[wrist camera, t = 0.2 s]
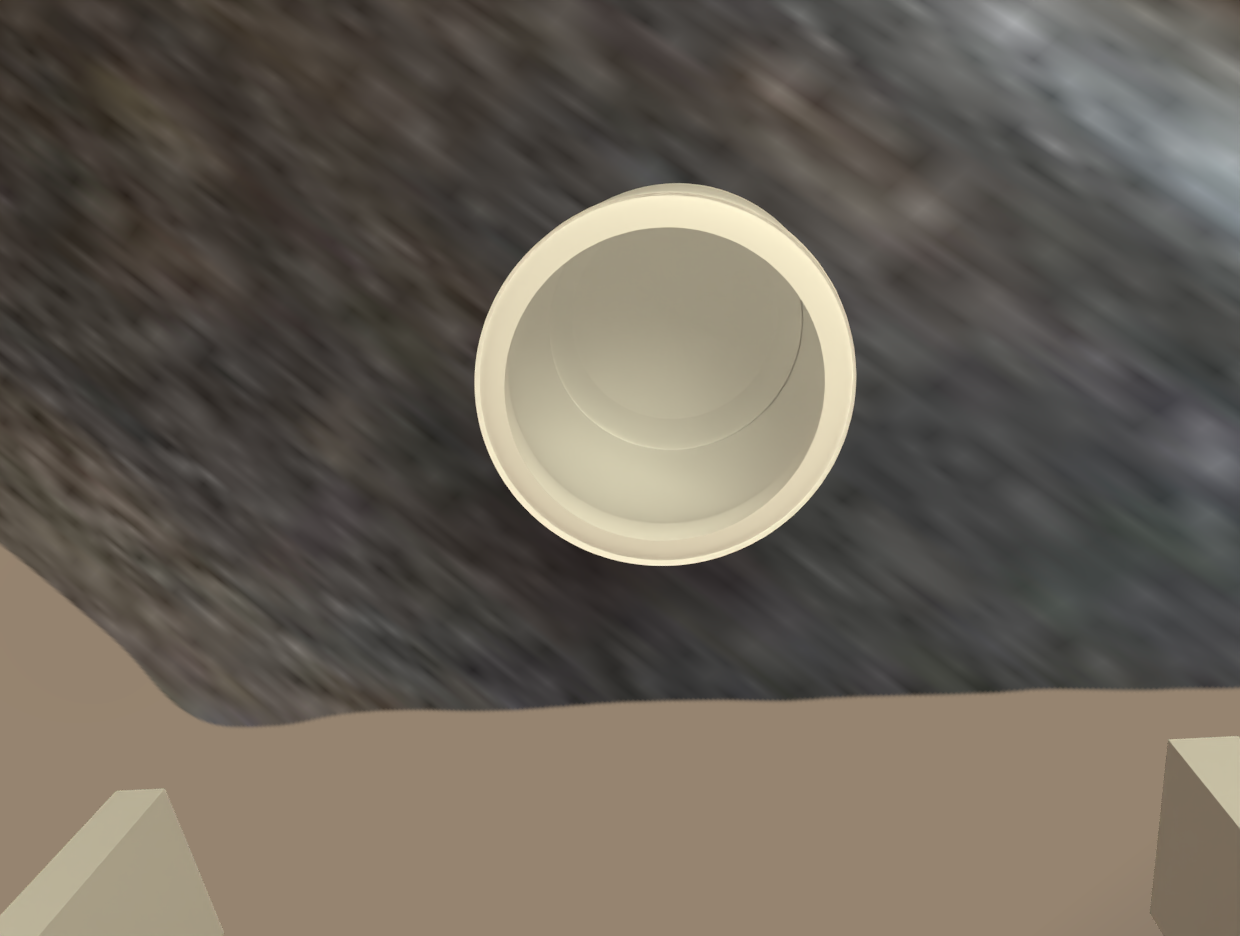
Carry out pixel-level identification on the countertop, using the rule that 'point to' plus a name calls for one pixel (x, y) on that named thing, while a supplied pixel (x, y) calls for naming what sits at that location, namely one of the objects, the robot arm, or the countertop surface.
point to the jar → (665, 376)
